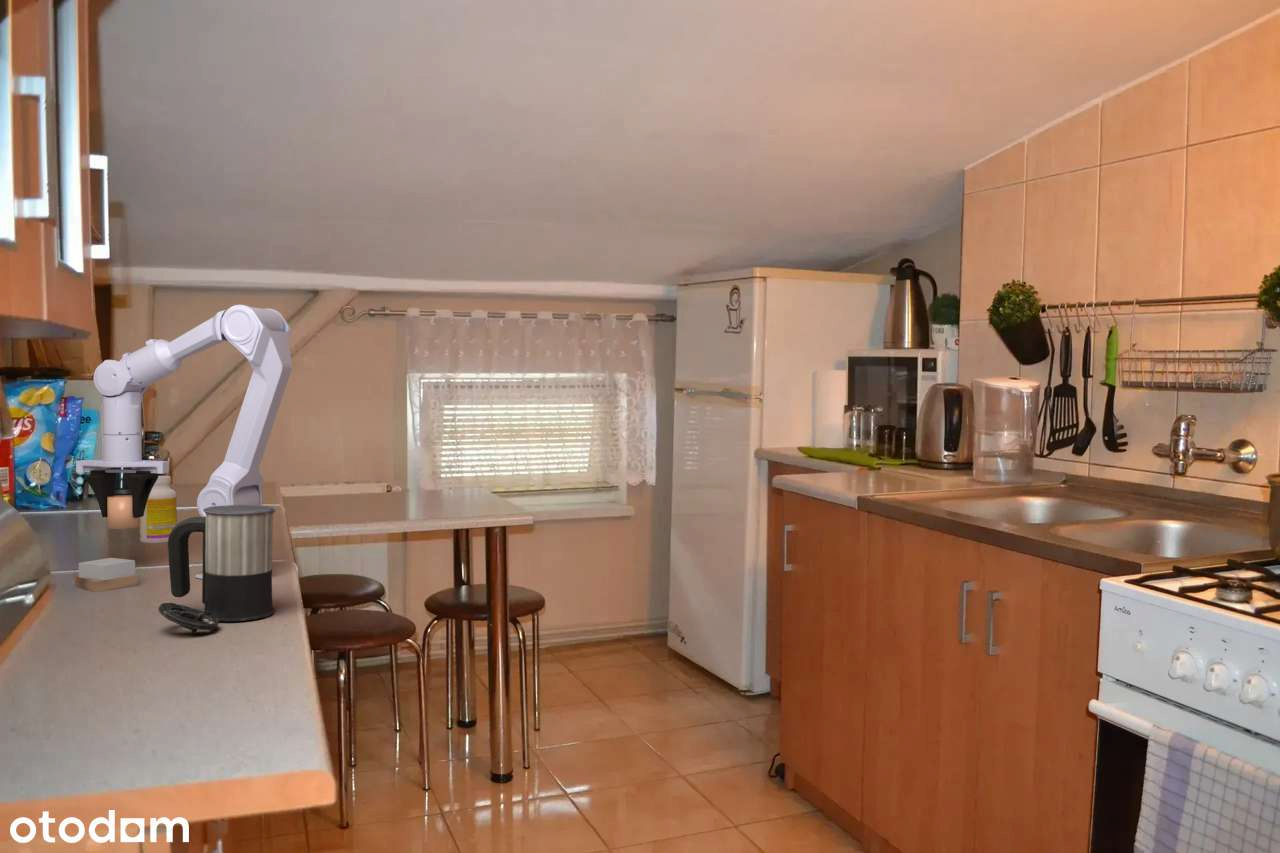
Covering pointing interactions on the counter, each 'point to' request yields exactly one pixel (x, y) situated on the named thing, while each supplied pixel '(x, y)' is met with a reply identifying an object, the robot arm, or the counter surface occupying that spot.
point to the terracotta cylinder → (120, 512)
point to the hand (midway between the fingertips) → (123, 516)
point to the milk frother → (224, 566)
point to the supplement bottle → (159, 513)
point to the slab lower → (106, 583)
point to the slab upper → (106, 568)
